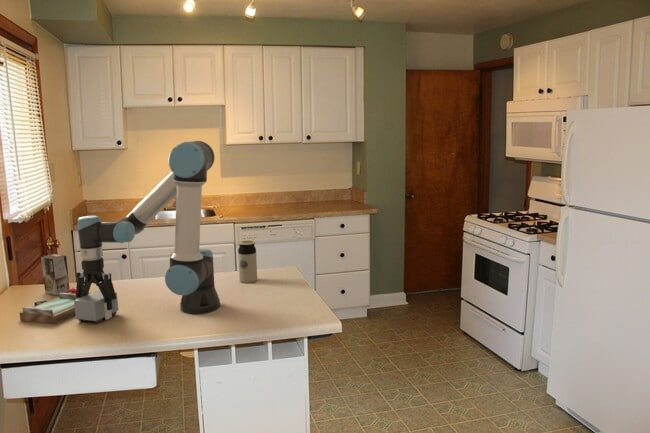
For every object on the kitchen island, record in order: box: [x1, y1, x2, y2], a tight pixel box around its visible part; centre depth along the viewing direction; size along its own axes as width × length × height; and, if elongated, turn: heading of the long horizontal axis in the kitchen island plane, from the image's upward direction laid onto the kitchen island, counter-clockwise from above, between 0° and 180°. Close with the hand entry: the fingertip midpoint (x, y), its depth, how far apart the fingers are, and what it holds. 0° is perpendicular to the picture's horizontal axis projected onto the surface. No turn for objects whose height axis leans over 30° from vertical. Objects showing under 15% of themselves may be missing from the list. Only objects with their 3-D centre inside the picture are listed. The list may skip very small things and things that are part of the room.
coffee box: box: [40, 253, 71, 296], centre depth 237 cm, size 9×6×16 cm
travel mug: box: [237, 239, 258, 284], centre depth 249 cm, size 8×8×18 cm
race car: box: [66, 287, 90, 294], centre depth 230 cm, size 13×5×4 cm, turn 162°
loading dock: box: [18, 293, 78, 325], centre depth 211 cm, size 16×19×5 cm
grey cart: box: [74, 290, 119, 324], centre depth 205 cm, size 9×12×8 cm
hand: (97, 316), depth 205 cm, fingers closed on grey cart, 9 cm apart
